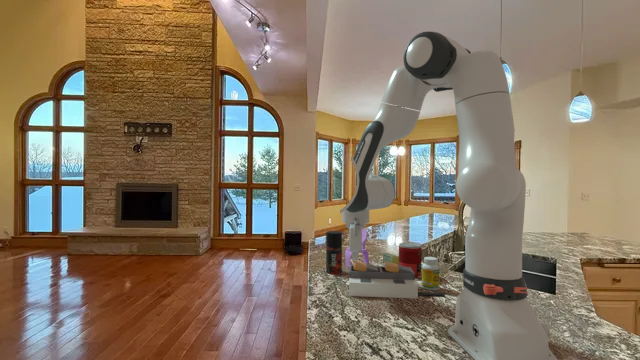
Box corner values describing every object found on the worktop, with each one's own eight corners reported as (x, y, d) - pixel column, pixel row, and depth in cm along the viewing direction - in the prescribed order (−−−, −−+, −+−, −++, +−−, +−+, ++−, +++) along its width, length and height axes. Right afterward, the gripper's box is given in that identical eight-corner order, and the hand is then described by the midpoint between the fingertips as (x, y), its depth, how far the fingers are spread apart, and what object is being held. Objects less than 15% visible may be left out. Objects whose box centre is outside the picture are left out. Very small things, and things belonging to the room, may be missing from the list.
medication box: (382, 262, 133) (382, 253, 133) (387, 261, 134) (387, 252, 134) (402, 269, 122) (402, 259, 122) (407, 268, 123) (407, 258, 123)
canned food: (422, 278, 111) (422, 247, 111) (399, 276, 113) (399, 246, 113) (420, 272, 118) (420, 243, 118) (398, 270, 120) (398, 242, 120)
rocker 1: (409, 279, 97) (411, 272, 97) (385, 272, 98) (387, 265, 98) (406, 274, 102) (408, 267, 102) (383, 267, 103) (385, 260, 103)
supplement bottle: (426, 283, 105) (426, 255, 105) (442, 287, 101) (442, 258, 101) (418, 287, 101) (418, 258, 101) (434, 292, 97) (434, 261, 97)
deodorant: (328, 274, 115) (328, 233, 115) (324, 270, 121) (324, 231, 121) (344, 273, 116) (344, 233, 116) (338, 269, 122) (338, 230, 122)
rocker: (376, 278, 99) (378, 271, 98) (353, 271, 99) (355, 264, 99) (375, 273, 103) (377, 266, 103) (353, 267, 104) (355, 260, 104)
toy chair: (343, 265, 128) (343, 228, 128) (363, 263, 131) (363, 227, 131) (351, 270, 120) (351, 231, 120) (372, 268, 123) (372, 230, 123)
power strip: (447, 299, 91) (447, 279, 91) (349, 295, 94) (349, 275, 94) (436, 285, 103) (436, 267, 103) (349, 282, 106) (349, 265, 106)
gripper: (366, 221, 91) (366, 269, 91) (364, 213, 111) (364, 252, 111) (345, 220, 92) (344, 268, 92) (346, 213, 112) (346, 252, 112)
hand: (355, 259), depth 102 cm, fingers closed
